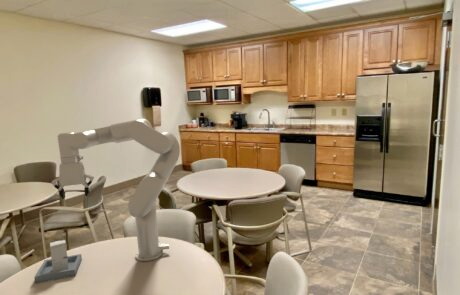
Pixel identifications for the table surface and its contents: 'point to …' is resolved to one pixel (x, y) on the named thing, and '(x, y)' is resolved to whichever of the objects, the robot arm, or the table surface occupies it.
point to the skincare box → (59, 255)
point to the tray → (48, 275)
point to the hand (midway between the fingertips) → (75, 196)
